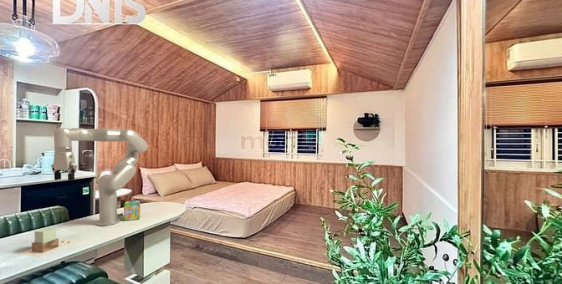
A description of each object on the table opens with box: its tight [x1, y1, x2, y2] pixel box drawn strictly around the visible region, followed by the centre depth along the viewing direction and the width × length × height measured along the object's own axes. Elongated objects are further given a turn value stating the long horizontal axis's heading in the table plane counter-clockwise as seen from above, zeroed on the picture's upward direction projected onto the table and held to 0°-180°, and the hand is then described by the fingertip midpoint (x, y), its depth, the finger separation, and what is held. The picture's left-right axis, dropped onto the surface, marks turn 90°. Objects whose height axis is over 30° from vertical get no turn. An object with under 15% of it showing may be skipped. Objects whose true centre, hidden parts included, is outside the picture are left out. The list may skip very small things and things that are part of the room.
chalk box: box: [123, 196, 141, 222], centre depth 173 cm, size 9×9×15 cm
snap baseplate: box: [17, 238, 80, 258], centre depth 126 cm, size 18×14×2 cm
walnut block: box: [31, 237, 60, 253], centre depth 124 cm, size 7×7×4 cm
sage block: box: [34, 226, 57, 244], centre depth 124 cm, size 6×6×6 cm
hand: (64, 180), depth 143 cm, fingers open, 9 cm apart
